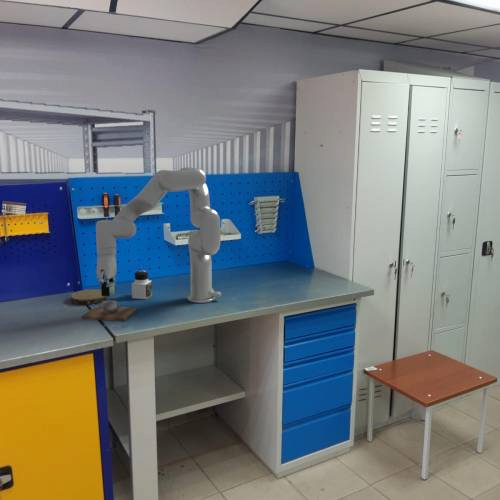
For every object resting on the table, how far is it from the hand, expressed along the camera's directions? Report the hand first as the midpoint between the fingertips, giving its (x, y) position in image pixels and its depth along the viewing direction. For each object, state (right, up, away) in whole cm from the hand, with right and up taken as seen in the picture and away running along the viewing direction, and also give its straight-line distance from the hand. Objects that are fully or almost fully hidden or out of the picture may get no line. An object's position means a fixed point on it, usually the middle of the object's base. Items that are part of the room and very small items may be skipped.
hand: (108, 293), depth 212 cm
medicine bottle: (+8, -4, +27) cm, 28 cm away
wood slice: (-15, -5, +22) cm, 27 cm away
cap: (0, -1, 0) cm, 1 cm away
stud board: (0, -9, +2) cm, 9 cm away
